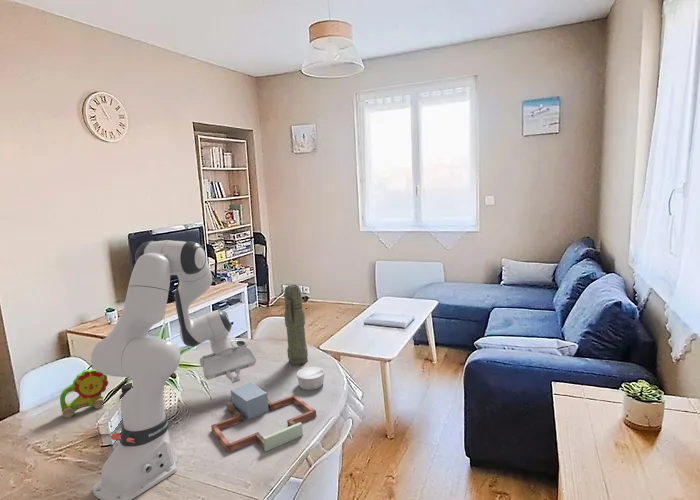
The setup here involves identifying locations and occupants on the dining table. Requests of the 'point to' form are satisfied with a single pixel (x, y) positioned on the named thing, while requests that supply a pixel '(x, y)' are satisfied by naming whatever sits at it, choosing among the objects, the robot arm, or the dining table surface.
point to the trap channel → (256, 436)
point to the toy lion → (85, 392)
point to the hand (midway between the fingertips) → (236, 381)
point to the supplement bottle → (125, 389)
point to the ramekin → (310, 377)
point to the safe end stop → (282, 436)
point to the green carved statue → (295, 326)
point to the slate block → (250, 400)
